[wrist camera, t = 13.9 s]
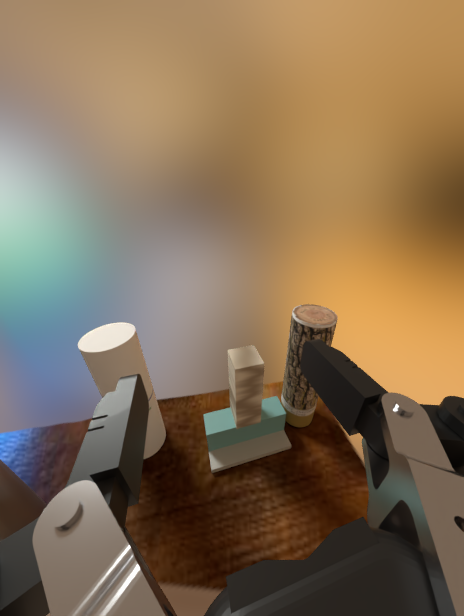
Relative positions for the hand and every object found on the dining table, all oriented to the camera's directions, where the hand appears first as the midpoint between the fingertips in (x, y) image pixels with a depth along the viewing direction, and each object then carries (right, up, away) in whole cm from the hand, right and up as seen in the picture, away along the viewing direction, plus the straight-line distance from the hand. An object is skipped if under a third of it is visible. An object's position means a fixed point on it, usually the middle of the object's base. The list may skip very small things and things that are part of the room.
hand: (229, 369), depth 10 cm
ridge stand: (+3, -22, +31) cm, 38 cm away
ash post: (+3, -17, +28) cm, 33 cm away
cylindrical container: (-17, -23, +30) cm, 42 cm away
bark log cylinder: (+14, -20, +34) cm, 42 cm away
